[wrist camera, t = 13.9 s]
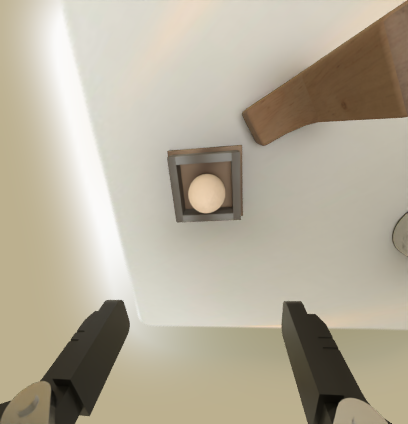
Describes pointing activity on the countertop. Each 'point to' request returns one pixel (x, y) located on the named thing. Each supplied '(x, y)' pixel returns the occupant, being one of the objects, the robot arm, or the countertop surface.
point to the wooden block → (342, 83)
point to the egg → (206, 193)
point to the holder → (207, 164)
